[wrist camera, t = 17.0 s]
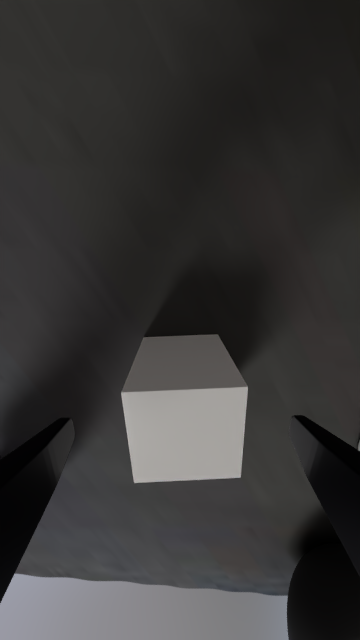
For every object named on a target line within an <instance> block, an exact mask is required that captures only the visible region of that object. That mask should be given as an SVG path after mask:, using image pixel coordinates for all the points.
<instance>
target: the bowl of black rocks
mask: <svg viewBox="0 0 360 640" xmlns="http://www.w3.org/2000/svg"><path fill="white" fill-rule="evenodd" d="M287 626H288V637H289V640H360V576H359V574H358V572H357V570H356V569H355V567H354V565H353V563H352V561H351V559H350V557H349V555H348V554H347V552H346V550H345V548H344V546H343V544H334V543H333V544H324V545H321V546H318V547H315V548H313V549H312V550H310V551H309V552H308V553H306V554H305V555H304V556H303V557H302V559H301V560H300V561H299V563H298V564H297V566H296V568H295V570H294V573H293V576H292V579H291V582H290V587H289V592H288V602H287Z"/></svg>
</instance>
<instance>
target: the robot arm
mask: <svg viewBox="0 0 360 640" xmlns="http://www.w3.org/2000/svg"><path fill="white" fill-rule="evenodd" d="M289 436H290V439H291V441H292V444H293V446H294V448H295V451H296V453H297V455H298V458H299V460H300V462H301V465H302V467H303V469H304V472H305V474H306V476H307V478H308V480H309V482H310V484H311V486H312V488H313V490H314V492H315V494H316V495H317V497H318V499H319V501H320V503H321V505H322V507H323V509H324V510H325V512H326V514H327V516H328V518H329V520H330V522H331V524H332V525H333V527H334V529H335V531H336V533H337V535H338V537H339V539H340V540H341V542H342V544H343V546H344V548H345V550H346V552H347V554H348V555H349V557H350V559H351V561H352V563H353V565H354V567H355V569H356V570H357V572H358V574H359V576H360V451H359V450H357V449H355V448H354V447H352V446H351V445H349V444H348V443H346V442H344V441H343V440H341V439H340V438H338V437H337V436H335V435H333V434H332V433H330V432H329V431H327V430H326V429H324V428H322V427H321V426H319V425H318V424H316V423H315V422H313V421H311V420H310V419H308V418H307V417H305V416H303V415H294V416H292V418H291V423H290V427H289ZM74 438H75V431H74V426H73V421H72V419H71V418H60V419H58V420H56V421H55V422H54V423H52V424H51V425H49V426H48V427H47V428H45V429H44V430H42V431H41V432H39V433H38V434H37V435H35V436H34V437H32V438H31V439H29V440H28V441H27V442H25V443H24V444H22V445H21V446H19V447H18V448H17V449H15V450H14V451H12V452H11V453H10V454H8V455H7V456H5V457H4V458H2V459H1V460H0V603H1V601H2V598H3V596H4V594H5V592H6V590H7V588H8V586H9V584H10V582H11V579H12V577H13V575H14V573H15V571H16V569H17V567H18V565H19V563H20V561H21V559H22V557H23V555H24V553H25V551H26V548H27V546H28V544H29V542H30V540H31V538H32V536H33V534H34V532H35V530H36V528H37V525H38V523H39V521H40V519H41V517H42V515H43V513H44V511H45V509H46V507H47V505H48V503H49V500H50V498H51V496H52V494H53V492H54V490H55V488H56V486H57V483H58V481H59V478H60V476H61V473H62V470H63V468H64V465H65V463H66V460H67V457H68V455H69V452H70V449H71V447H72V444H73V441H74Z"/></svg>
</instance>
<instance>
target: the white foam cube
mask: <svg viewBox="0 0 360 640" xmlns="http://www.w3.org/2000/svg"><path fill="white" fill-rule="evenodd" d="M247 392H248V386H247V384H246V383H245V381H244V379H243V377H242V376H241V374H240V372H239V371H238V369H237V367H236V365H235V364H234V362H233V360H232V358H231V357H230V355H229V353H228V351H227V350H226V348H225V346H224V344H223V343H222V341H221V339H220V337H219V336H218V334H213V335H188V336H163V337H143V340H142V342H141V345H140V347H139V350H138V352H137V355H136V357H135V360H134V362H133V364H132V367H131V369H130V372H129V374H128V377H127V379H126V382H125V384H124V387H123V389H122V392H121V395H122V402H123V409H124V416H125V423H126V430H127V437H128V443H129V450H130V457H131V464H132V471H133V478H134V483H141V482H161V481H181V480H201V479H221V478H241V466H242V454H243V441H244V429H245V417H246V404H247Z"/></svg>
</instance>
